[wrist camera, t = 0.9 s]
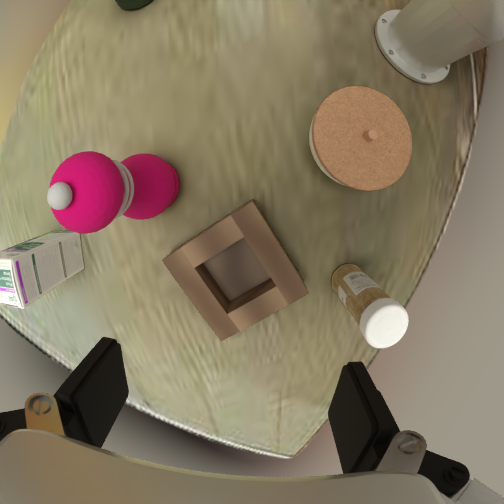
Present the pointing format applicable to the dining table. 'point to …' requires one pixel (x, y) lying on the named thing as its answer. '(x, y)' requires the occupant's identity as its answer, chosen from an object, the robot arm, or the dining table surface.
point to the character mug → (131, 3)
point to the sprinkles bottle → (370, 306)
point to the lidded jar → (360, 139)
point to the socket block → (236, 272)
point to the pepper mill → (110, 190)
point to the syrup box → (38, 267)
